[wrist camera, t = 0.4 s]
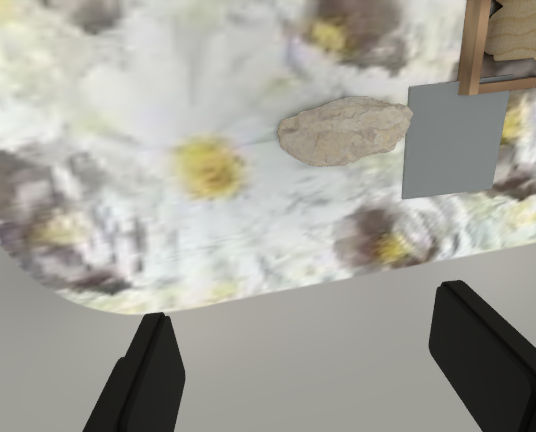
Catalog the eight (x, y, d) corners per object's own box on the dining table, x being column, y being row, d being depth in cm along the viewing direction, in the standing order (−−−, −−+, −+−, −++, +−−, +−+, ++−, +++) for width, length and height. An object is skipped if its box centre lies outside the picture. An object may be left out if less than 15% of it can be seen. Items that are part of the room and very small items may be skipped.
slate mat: (408, 87, 36) (410, 87, 36) (510, 74, 36) (512, 74, 36) (401, 198, 42) (403, 199, 41) (489, 187, 42) (491, 188, 41)
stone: (351, 154, 43) (417, 163, 34) (276, 173, 37) (333, 189, 29) (351, 95, 40) (422, 89, 32) (269, 106, 34) (331, 103, 26)
